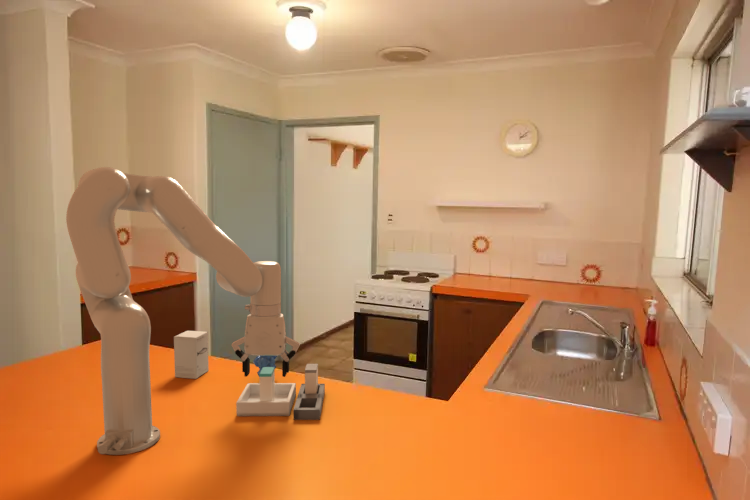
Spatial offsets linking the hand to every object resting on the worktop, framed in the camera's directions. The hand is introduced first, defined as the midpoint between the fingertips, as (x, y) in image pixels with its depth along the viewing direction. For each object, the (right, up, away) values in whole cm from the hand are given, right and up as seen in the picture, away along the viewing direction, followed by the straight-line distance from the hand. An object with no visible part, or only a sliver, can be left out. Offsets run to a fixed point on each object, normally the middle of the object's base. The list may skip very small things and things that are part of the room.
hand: (265, 374), depth 134 cm
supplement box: (-27, -6, +24) cm, 37 cm away
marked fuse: (0, -8, +1) cm, 8 cm away
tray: (0, -8, +1) cm, 8 cm away
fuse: (+11, -8, +6) cm, 15 cm away
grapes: (-4, -6, +18) cm, 20 cm away
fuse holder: (+11, -8, +1) cm, 14 cm away
